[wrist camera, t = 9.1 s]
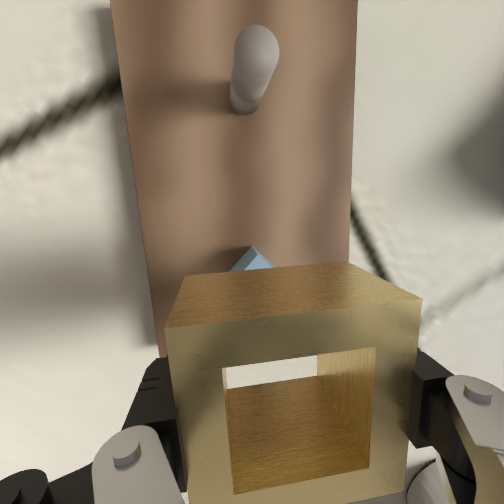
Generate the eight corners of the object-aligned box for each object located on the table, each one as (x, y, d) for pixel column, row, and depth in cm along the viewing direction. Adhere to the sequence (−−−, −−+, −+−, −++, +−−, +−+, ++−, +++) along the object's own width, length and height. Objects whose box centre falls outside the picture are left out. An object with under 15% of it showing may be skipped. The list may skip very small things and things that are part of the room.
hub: (251, 246, 19) (265, 265, 13) (282, 273, 19) (307, 301, 14) (222, 278, 19) (224, 310, 13) (254, 303, 20) (267, 343, 14)
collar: (345, 260, 10) (422, 298, 7) (342, 394, 12) (403, 491, 8) (185, 275, 10) (164, 328, 6) (202, 417, 11) (194, 536, 7)
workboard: (343, 15, 18) (426, -109, 11) (335, 325, 23) (388, 383, 16) (120, 7, 16) (40, -146, 9) (165, 343, 21) (137, 419, 14)
